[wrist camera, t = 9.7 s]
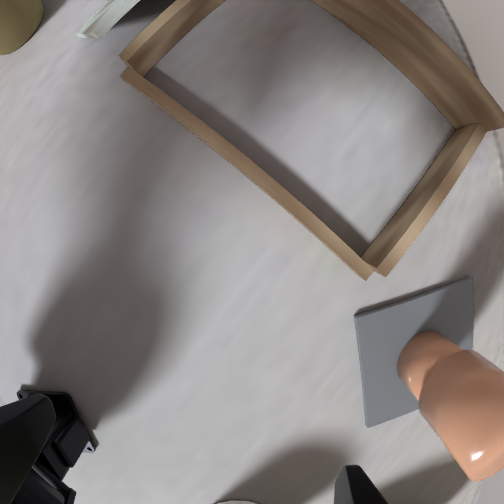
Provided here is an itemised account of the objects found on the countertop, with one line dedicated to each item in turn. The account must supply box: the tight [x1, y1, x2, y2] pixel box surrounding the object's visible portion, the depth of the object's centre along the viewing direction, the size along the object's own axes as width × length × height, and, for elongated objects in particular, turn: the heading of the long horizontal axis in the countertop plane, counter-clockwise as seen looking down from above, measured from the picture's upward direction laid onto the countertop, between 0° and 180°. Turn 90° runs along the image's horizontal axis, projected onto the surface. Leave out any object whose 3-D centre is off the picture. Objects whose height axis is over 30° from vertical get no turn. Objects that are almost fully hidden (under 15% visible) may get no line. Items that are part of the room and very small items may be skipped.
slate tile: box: [354, 277, 473, 428], centre depth 21 cm, size 10×10×1 cm
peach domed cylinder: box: [397, 330, 504, 481], centre depth 15 cm, size 5×5×11 cm
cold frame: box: [76, 0, 504, 281], centre depth 15 cm, size 14×27×6 cm, turn 50°
